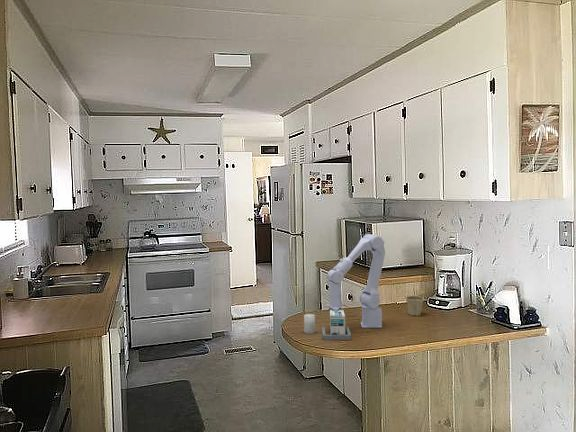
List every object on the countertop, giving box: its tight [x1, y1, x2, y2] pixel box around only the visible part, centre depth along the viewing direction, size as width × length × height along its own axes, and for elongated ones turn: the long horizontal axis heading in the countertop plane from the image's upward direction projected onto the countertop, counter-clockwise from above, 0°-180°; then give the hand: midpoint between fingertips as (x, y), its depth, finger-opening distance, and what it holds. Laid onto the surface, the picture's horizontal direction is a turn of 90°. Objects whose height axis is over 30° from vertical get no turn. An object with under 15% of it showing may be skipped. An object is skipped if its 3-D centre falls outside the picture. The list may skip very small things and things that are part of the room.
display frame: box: [321, 326, 352, 341], centre depth 229 cm, size 12×13×2 cm
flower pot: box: [405, 295, 425, 317], centre depth 263 cm, size 9×9×9 cm
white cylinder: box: [303, 313, 316, 335], centre depth 235 cm, size 5×5×8 cm
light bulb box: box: [329, 309, 346, 335], centre depth 229 cm, size 11×7×11 cm, turn 177°
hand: (335, 323), depth 238 cm, fingers closed
